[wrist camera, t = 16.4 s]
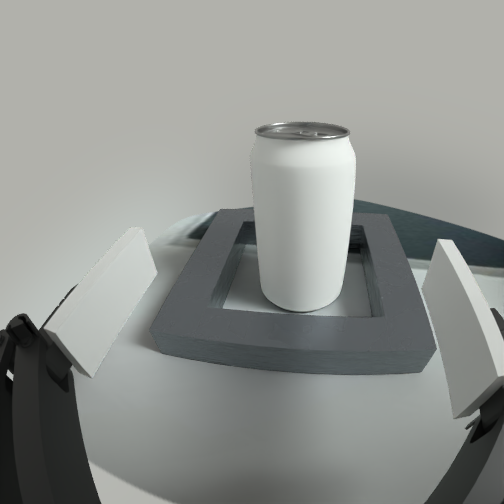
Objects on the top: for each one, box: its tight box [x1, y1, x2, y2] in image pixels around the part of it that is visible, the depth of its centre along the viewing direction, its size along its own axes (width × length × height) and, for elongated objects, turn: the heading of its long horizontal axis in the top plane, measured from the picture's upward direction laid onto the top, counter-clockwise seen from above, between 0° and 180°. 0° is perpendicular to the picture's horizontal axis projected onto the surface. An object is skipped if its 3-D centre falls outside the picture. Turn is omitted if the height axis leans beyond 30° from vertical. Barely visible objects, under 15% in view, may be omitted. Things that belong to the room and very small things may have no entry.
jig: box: [149, 209, 437, 375], centre depth 21 cm, size 17×16×2 cm
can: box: [250, 122, 356, 312], centre depth 18 cm, size 6×6×12 cm
